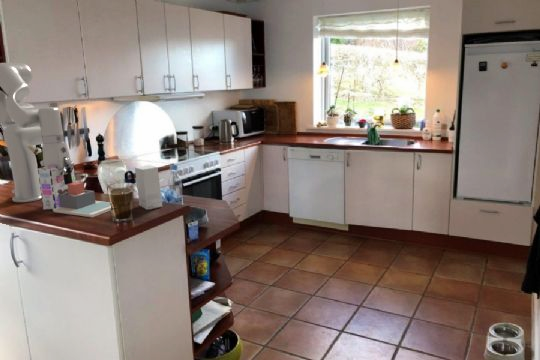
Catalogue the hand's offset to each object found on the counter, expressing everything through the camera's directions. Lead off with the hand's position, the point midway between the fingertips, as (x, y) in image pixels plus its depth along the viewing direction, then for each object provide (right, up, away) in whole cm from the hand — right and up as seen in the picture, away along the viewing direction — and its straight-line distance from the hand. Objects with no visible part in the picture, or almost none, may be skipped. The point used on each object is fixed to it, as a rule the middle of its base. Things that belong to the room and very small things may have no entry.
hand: (59, 183), depth 180 cm
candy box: (-1, -9, +3) cm, 10 cm away
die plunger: (+8, -8, -2) cm, 11 cm away
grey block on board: (+13, -10, -4) cm, 16 cm away
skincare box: (+36, -9, -3) cm, 37 cm away
